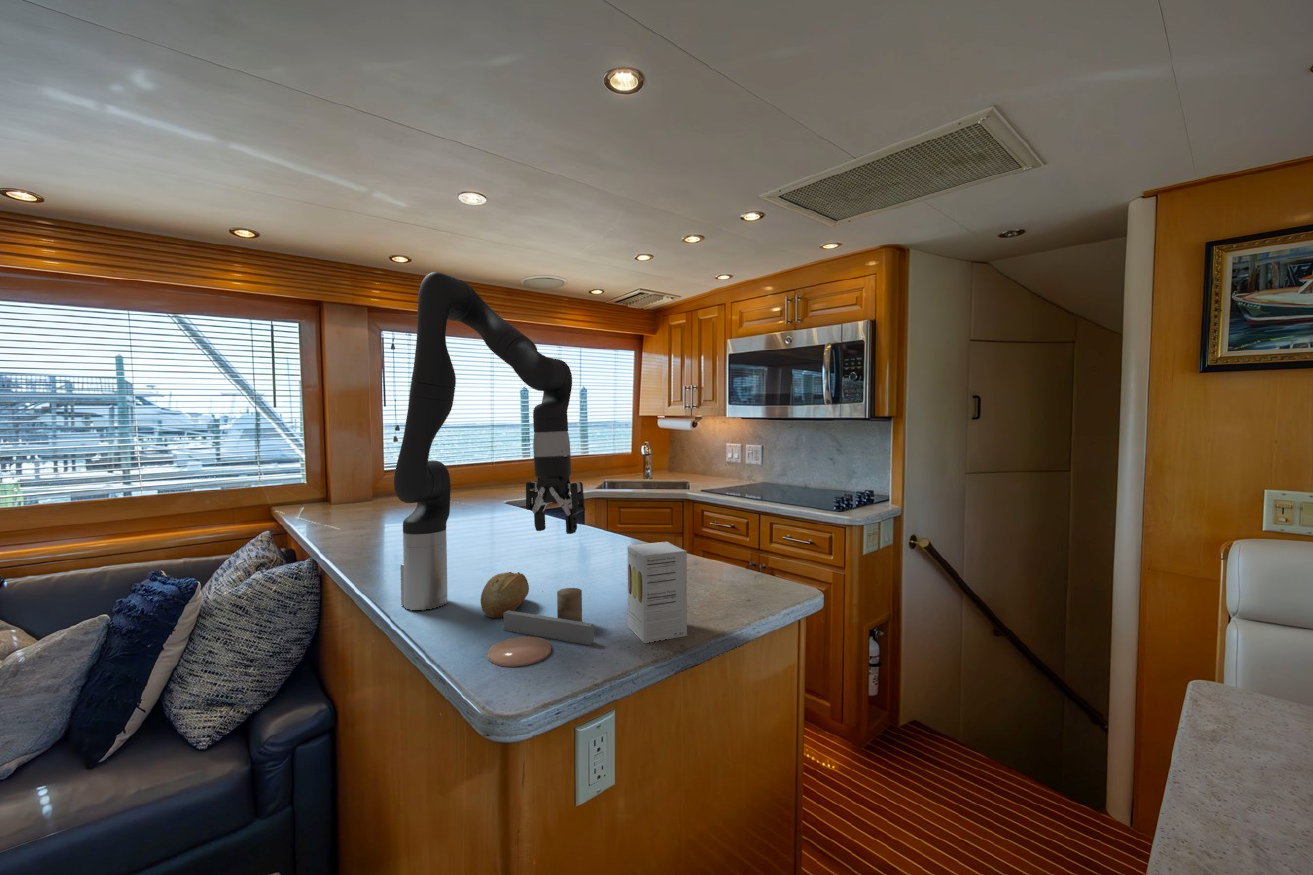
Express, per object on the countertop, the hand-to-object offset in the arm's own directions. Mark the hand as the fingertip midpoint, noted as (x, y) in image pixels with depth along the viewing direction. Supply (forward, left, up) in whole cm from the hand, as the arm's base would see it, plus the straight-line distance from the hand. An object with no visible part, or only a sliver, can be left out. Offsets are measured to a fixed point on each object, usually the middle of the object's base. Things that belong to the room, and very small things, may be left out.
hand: (555, 531), depth 110 cm
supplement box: (+21, +3, -19) cm, 29 cm away
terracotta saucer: (+2, -15, -19) cm, 24 cm away
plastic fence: (+2, -7, -19) cm, 20 cm away
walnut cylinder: (+3, 0, -19) cm, 19 cm away
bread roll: (-16, +3, -19) cm, 25 cm away
